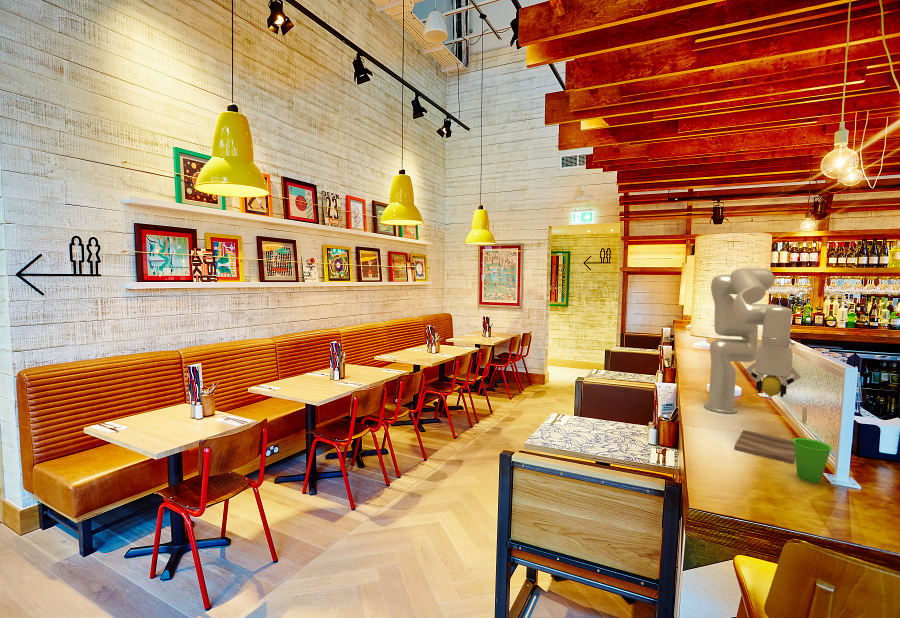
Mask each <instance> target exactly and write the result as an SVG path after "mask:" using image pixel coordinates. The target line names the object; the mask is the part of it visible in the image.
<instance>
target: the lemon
mask: <svg viewBox="0 0 900 618" xmlns="http://www.w3.org/2000/svg"><path fill="white" fill-rule="evenodd" d="M761 381H762V385H761V386H762V390H761V391H763V393H765V394H766V395H768V397H769V398H772V397H773V396H777V395H779V394H780V393H781V385H782V380H781V378H780V377H778V376H771V375H765V376H764V377H763V379H762V380H761Z"/></svg>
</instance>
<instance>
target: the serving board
mask: <svg viewBox="0 0 900 618" xmlns="http://www.w3.org/2000/svg"><path fill="white" fill-rule="evenodd" d="M792 440H793V439H787V438H783V437H779V436H773V435H769V434H765V433H760V432H755V431H751V430H746V429H742V431H741V433H740V435H739V436H738V439H737V440H736V443H735V444H734V450H735V451H738V452H742V453H747V454H751V455H755V456H759V457H763V458H768V459H770V460H771V459H772V460H774V459H775V460H776V461H779V462H782V461H784V463H787V462H789V463H788V464H791V463H793V464H792V465H794V464H795V463H794V462H795V460H796V459H795V449H794V442H793V441H792Z"/></svg>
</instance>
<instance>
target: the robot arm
mask: <svg viewBox="0 0 900 618" xmlns="http://www.w3.org/2000/svg"><path fill="white" fill-rule="evenodd" d="M774 283H775V275H774V274H773V272H772V270H770V269H768V268H765V267H764V268H763V267H756V268H755V267H754V268H753V267H741V268H737V269H734V270H733V271H732V272H731V274H720V275H716V276H715V277H714V278H713V279H712V280H711V284H710V292H711V296H712V299H713V303H714V323H713V324H714V332H715V334H716V335H718V336H723V337H724V336H725V337H739V338H741V339H732V338H730V339H729V338H719V339H715V340H713V341H711V343H710V344H709V352H710V375H709V377H710V378H709V388H708V389H709V390H708V402H705V403H704V404H703V407H704V408H705V409H707V410H709V411H711V410H712V412H716V413H721V414H736V413H737V412H738V408H737V407H736V406H734V402H735V392H736V391H735V390H736V378H737V371H736V368H735V367H734V366H733V365H732V363H731V362H740V363H741V362H743V363H752V362H754V363H753V364H751V365H750V366H748V367H747V368H745V371H746V372H747V373H748V374H749V375H750V376H751V377H752V378H753V380H755V382H756V384H755V391H757V393H758V394H761V393H762V391H763V390H762V386H761V385H762V380H763V379H762V378H763V376H764V375H765V376H768V375H771V376H776V377H778V378H780V380H781V391H780V393H779V394H780V397H781V398H784V395H785V396H786V395H787V388H788V385H790V384H792V383H794V382H796V381H798V380H799V379H801V377H802V376H801V375H800V373H798V372H797V370H796V369H795V368H794V367H793V357H794V356H793V349H792V347H791V346H795V345H796V341H794V340H792V339H791V330H792V329H791V328H792V327H791V326H792V316H793V312H792V309H791V308H789V307H785V306H783V305H780V304H768V303H765V304H764V303H758V302H760V301H761V300H762V299H763V298H764V297H765V296H766V292H767V291H768V290H770V289H771V288H772V287H773V286H774ZM732 295H736V296H735V298H734V297H733V296H732ZM759 326H762V333H761V334H762V335H761V343H760V344H759V345H758V343H759V342H758V341H759V339H758V338H759V335H758V334H759ZM753 369H754V371H753ZM791 375H792V377H791ZM789 377H790V378H789Z"/></svg>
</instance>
